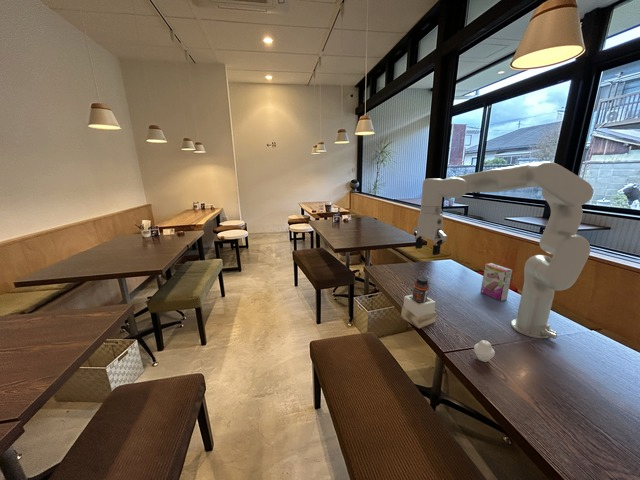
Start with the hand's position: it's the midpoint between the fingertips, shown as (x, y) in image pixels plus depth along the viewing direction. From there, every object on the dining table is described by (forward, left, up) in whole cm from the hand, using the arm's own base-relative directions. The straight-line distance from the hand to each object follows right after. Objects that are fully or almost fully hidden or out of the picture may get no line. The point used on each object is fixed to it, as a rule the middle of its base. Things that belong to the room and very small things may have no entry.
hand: (426, 251), depth 107 cm
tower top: (0, +2, -27) cm, 27 cm away
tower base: (0, +2, -32) cm, 32 cm away
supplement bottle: (0, +2, -22) cm, 22 cm away
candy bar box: (+3, -50, -32) cm, 59 cm away
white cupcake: (-28, -2, -32) cm, 43 cm away
